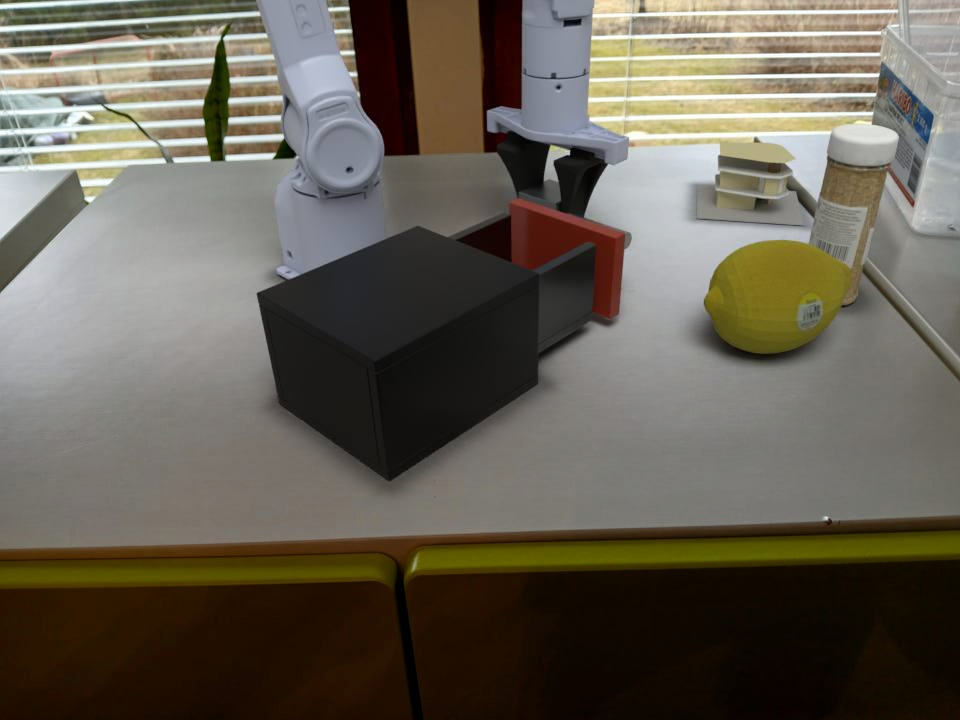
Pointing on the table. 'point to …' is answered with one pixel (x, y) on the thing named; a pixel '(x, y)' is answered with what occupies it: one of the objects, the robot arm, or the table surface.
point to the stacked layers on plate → (751, 186)
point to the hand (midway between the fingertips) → (551, 221)
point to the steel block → (544, 194)
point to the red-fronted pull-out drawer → (558, 262)
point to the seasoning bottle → (852, 195)
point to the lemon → (776, 295)
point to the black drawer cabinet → (402, 344)
